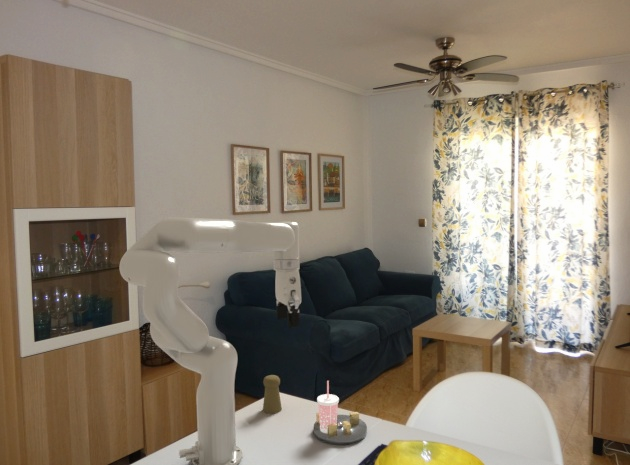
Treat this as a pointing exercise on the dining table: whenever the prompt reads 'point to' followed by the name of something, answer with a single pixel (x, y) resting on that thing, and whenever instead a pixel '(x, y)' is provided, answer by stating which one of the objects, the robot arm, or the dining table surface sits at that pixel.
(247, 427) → the dining table surface
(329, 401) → the beverage cup
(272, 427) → the dining table surface
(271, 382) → the cork
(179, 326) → the robot arm
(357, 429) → the gold studded metal disc
